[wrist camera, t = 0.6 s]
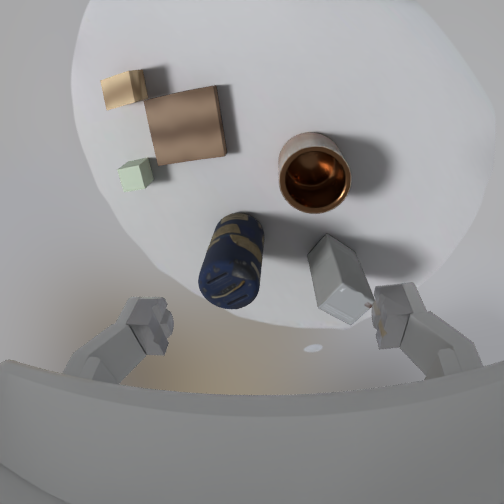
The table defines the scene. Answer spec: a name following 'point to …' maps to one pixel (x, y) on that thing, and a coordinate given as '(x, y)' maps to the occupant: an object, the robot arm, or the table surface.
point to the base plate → (186, 126)
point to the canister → (233, 262)
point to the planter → (313, 173)
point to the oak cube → (124, 89)
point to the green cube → (135, 175)
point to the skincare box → (339, 280)
